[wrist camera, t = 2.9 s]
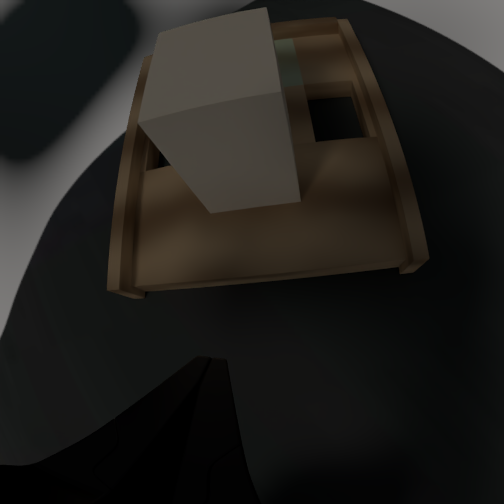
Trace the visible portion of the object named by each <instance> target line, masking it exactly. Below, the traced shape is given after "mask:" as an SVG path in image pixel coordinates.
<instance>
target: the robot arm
mask: <svg viewBox="0 0 504 504" xmlns="http://www.w3.org/2000/svg"><path fill="white" fill-rule="evenodd" d="M0 504H261V502H260V500H259V498H258V495H257V493H256V491H255V488H254V485H253V483H252V480H251V477H250V474H249V471H248V467H247V463H246V459H245V455H244V450H243V446H242V441H241V436H240V431H239V425H238V420H237V415H236V409H235V404H234V399H233V393H232V388H231V382H230V376H229V371H228V365H227V360H226V359H221V358H210V357H205V356H197V357H195V358H194V359H193V360H191V361H190V362H189V363H188V364H186V365H185V366H184V367H182V368H181V369H180V370H178V371H177V372H176V373H175V374H173V375H172V376H171V377H169V378H168V379H167V380H165V381H164V382H163V383H161V384H160V385H159V386H157V387H156V388H155V389H153V390H152V391H151V392H149V393H148V394H147V395H145V396H144V397H143V398H141V399H140V400H139V401H137V402H136V403H135V404H133V405H132V406H131V407H129V408H128V409H126V410H125V411H124V412H122V413H121V414H120V415H118V416H117V417H116V418H115V419H113V420H111V421H110V422H108V423H107V424H106V425H104V426H103V427H101V428H100V429H98V430H97V431H95V432H94V433H92V434H91V435H89V436H87V437H85V438H84V439H82V440H80V441H79V442H77V443H75V444H73V445H71V446H69V447H67V448H65V449H64V450H62V451H60V452H58V453H56V454H54V455H52V456H50V457H48V458H46V459H44V460H42V461H39V462H37V463H34V464H30V465H23V466H13V465H0Z"/></svg>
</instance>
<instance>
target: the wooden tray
mask: <svg viewBox="0 0 504 504" xmlns="http://www.w3.org/2000/svg"><path fill="white" fill-rule="evenodd" d="M270 25H271V30H272V34H273V39H274V43H275V48H276V53H277V58H278V62H279V67H280V72H281V77H282V82H283V87H284V93H285V98H286V103H287V109H288V114H289V120H290V127H291V133H292V140H293V147H294V154H295V161H296V168H297V175H298V183H299V191H300V198H301V202H294V203H286V204H278V205H270V206H262V207H254V208H247V209H239V210H232V211H225V212H218V213H210V212H209V211H208V210H207V209H206V207H205V206H204V205H203V204H202V202H201V201H200V200H199V199H198V197H197V196H196V195H195V194H194V192H193V191H192V190H191V189H190V188H189V186H188V185H187V184H186V183H185V181H184V180H183V179H182V178H181V176H180V175H179V174H178V173H177V171H176V170H175V169H174V168H173V166H172V165H171V166H167V167H162V168H158V163H159V154H160V150H159V149H158V148H157V147H156V145H155V144H154V143H153V142H152V140H151V139H150V138H149V137H148V135H147V134H146V133H145V132H144V130H143V129H142V128H141V127H140V125H139V124H138V118H139V113H140V108H141V103H142V99H143V94H144V90H145V85H146V81H147V77H148V72H149V68H150V64H151V60H152V57H153V55H150V56H147V57H144V60H143V63H142V67H141V71H140V75H139V78H138V82H137V86H136V90H135V94H134V98H133V103H132V107H131V111H130V116H129V121H128V125H127V130H126V135H125V140H124V146H123V151H122V157H121V163H120V169H119V175H118V182H117V188H116V196H115V203H114V211H113V220H112V229H111V240H110V252H109V265H108V282H107V290H108V291H111V292H114V293H117V294H120V295H124V296H127V297H130V298H133V299H138V298H145V291H159V290H173V289H186V288H198V287H211V286H222V285H234V284H245V283H256V282H266V281H277V280H287V279H297V278H306V277H316V276H325V275H334V274H343V273H352V272H361V271H369V270H378V269H386V268H394V267H399V271H400V274H406V273H413V272H415V271H416V270H417V269H418V268H419V267H420V266H422V265H423V264H424V263H425V262H426V261H427V260H428V259H430V258H429V253H428V248H427V243H426V238H425V233H424V229H423V224H422V220H421V216H420V212H419V207H418V203H417V200H416V196H415V192H414V188H413V185H412V181H411V177H410V174H409V171H408V167H407V164H406V161H405V157H404V154H403V151H402V148H401V145H400V142H399V139H398V136H397V133H396V130H395V127H394V124H393V122H392V119H391V116H390V113H389V111H388V108H387V106H386V103H385V100H384V98H383V95H382V93H381V90H380V88H379V86H378V83H377V81H376V78H375V76H374V74H373V71H372V69H371V67H370V65H369V62H368V60H367V58H366V56H365V54H364V52H363V49H362V47H361V45H360V43H359V41H358V39H357V37H356V35H355V33H354V31H353V29H352V27H351V25H350V23H349V22H348V20H347V19H339V20H337V19H336V17H329V18H315V19H304V20H295V21H286V22H279V23H272V24H270ZM350 96H351V98H352V101H353V104H354V107H355V110H356V114H357V117H358V120H359V124H360V127H361V130H362V134H363V137H364V138H352V139H340V140H330V141H320V142H315V137H314V132H313V127H312V122H311V117H310V112H309V107H308V103H307V100H316V99H326V98H337V97H350Z"/></svg>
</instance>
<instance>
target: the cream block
mask: <svg viewBox="0 0 504 504" xmlns="http://www.w3.org/2000/svg"><path fill="white" fill-rule="evenodd" d="M138 124H139V125H140V127H141V128H142V129H143V130H144V132H145V133H146V134H147V135H148V137H149V138H150V139H151V140H152V142H153V143H154V144H155V145H156V147H157V148H158V149H159V150H160V152H161V153H162V154H163V155H164V157H165V158H166V159H167V160H168V162H169V163H170V164H171V165H172V166H173V168H174V169H175V170H176V171H177V173H178V174H179V175H180V176H181V178H182V179H183V180H184V181H185V183H186V184H187V185H188V186H189V188H190V189H191V190H192V191H193V192H194V194H195V195H196V196H197V197H198V199H199V200H200V201H201V202H202V204H203V205H204V206H205V207H206V209H207V210H208V211H209V212H210V213H218V212H225V211H232V210H239V209H247V208H254V207H262V206H270V205H278V204H286V203H294V202H301V198H300V191H299V183H298V175H297V168H296V161H295V154H294V147H293V140H292V133H291V127H290V120H289V114H288V109H287V103H286V98H285V93H284V87H283V82H282V77H281V72H280V67H279V62H278V58H277V53H276V48H275V43H274V39H273V34H272V30H271V25H270V21H269V16H268V12H267V8H266V7H265V8H259V9H253V10H247V11H242V12H237V13H232V14H227V15H223V16H219V17H214V18H210V19H206V20H202V21H198V22H195V23H191V24H187V25H184V26H181V27H177V28H174V29H170V30H167V31H164V32H161V33H159V35H158V38H157V42H156V45H155V49H154V53H153V57H152V60H151V64H150V68H149V72H148V77H147V81H146V85H145V90H144V94H143V99H142V103H141V108H140V113H139V118H138Z"/></svg>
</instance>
